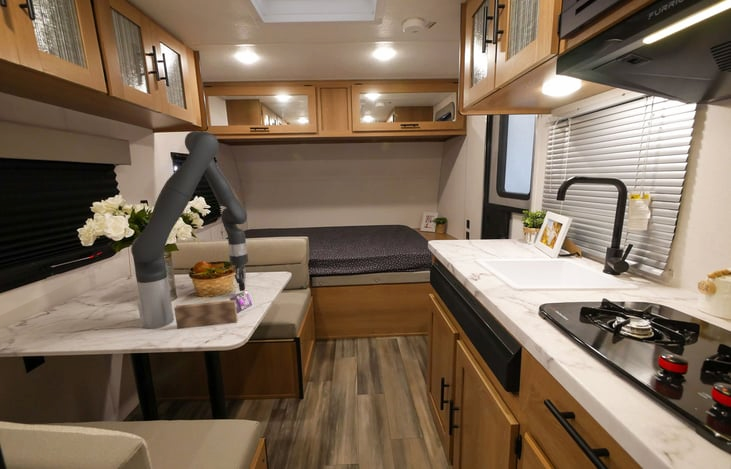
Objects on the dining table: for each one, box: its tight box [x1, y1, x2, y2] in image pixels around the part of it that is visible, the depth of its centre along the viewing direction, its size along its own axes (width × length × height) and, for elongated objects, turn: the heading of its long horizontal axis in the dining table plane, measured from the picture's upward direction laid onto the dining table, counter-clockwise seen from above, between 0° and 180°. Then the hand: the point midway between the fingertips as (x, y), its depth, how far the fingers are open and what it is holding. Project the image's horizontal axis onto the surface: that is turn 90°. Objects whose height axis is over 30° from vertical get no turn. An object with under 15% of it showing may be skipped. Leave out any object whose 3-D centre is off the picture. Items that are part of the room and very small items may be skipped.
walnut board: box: [173, 300, 238, 330], centre depth 113 cm, size 20×2×8 cm, turn 102°
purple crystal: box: [229, 289, 253, 314], centre depth 127 cm, size 7×5×9 cm
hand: (242, 290), depth 140 cm, fingers closed
